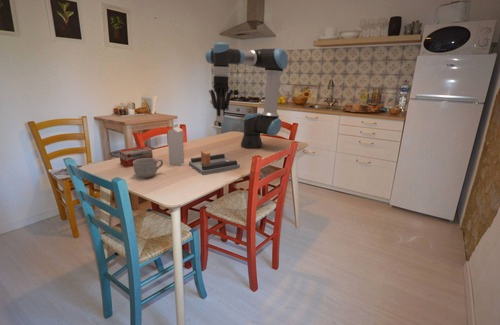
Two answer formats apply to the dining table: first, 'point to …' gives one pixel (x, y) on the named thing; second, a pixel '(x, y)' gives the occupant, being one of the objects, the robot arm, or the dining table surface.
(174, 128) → the milk
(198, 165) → the panel
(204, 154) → the orange rectangular block
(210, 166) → the set of dark strips
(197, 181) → the dining table surface
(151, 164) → the teacup
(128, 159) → the medicine box
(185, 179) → the dining table surface
